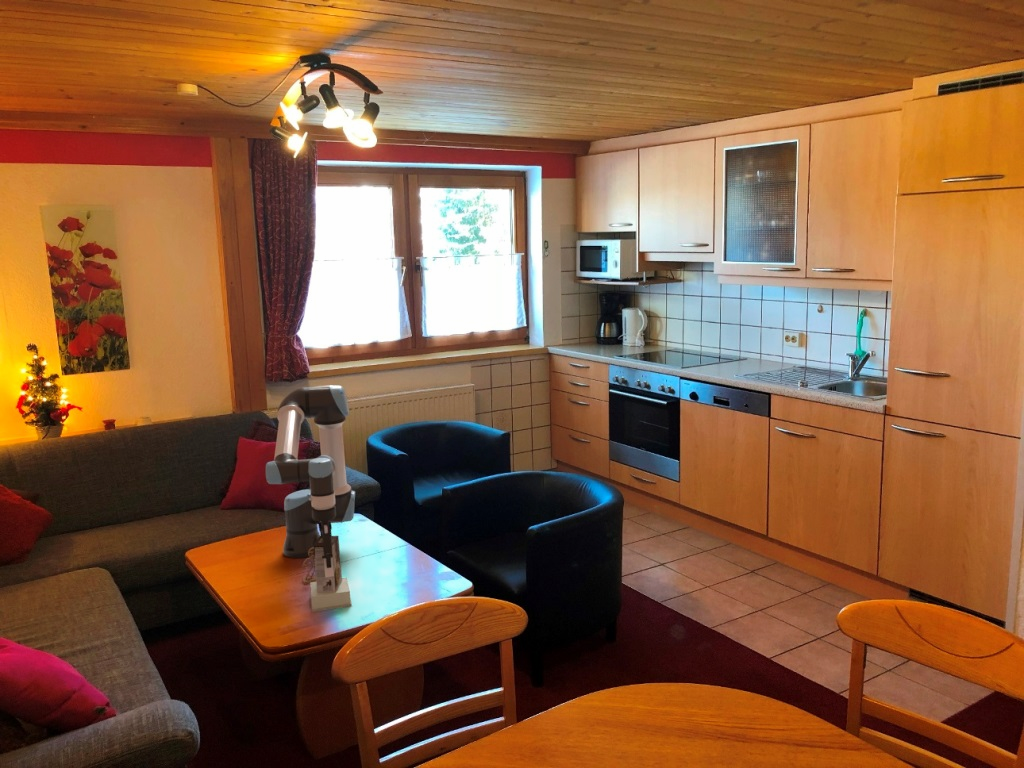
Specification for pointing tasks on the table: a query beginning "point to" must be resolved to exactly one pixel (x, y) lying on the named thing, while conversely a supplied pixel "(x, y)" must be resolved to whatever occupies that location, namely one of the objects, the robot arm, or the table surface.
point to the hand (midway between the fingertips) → (328, 568)
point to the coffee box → (324, 582)
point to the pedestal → (330, 597)
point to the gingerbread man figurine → (310, 578)
